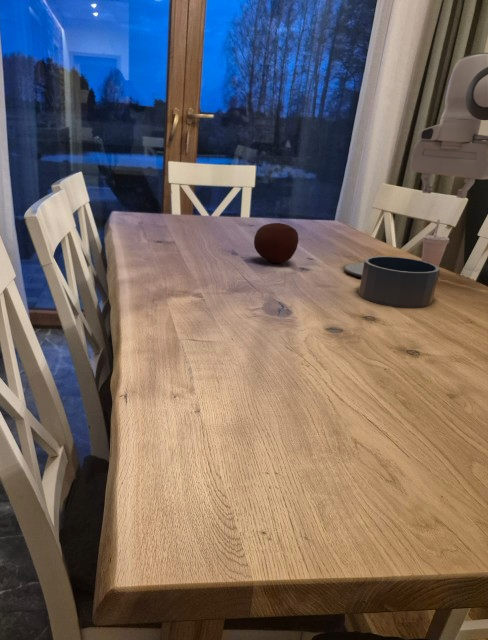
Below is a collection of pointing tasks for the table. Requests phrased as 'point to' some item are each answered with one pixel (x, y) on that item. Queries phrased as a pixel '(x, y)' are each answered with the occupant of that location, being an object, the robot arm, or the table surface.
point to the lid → (355, 269)
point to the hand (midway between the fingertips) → (443, 195)
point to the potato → (276, 242)
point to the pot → (398, 281)
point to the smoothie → (434, 247)
